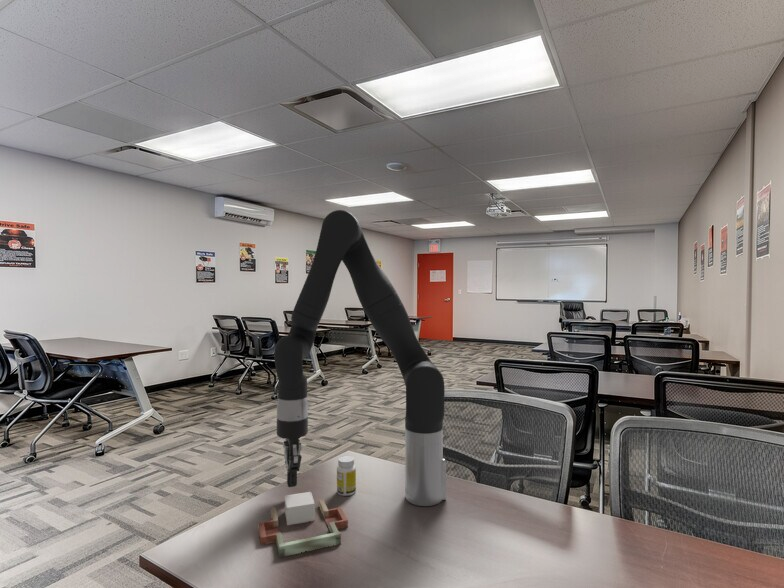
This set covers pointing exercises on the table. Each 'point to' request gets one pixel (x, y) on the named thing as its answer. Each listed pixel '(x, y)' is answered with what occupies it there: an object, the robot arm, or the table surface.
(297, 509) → the grey block
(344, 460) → the supplement bottle
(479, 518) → the table surface
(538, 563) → the table surface
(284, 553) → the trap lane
